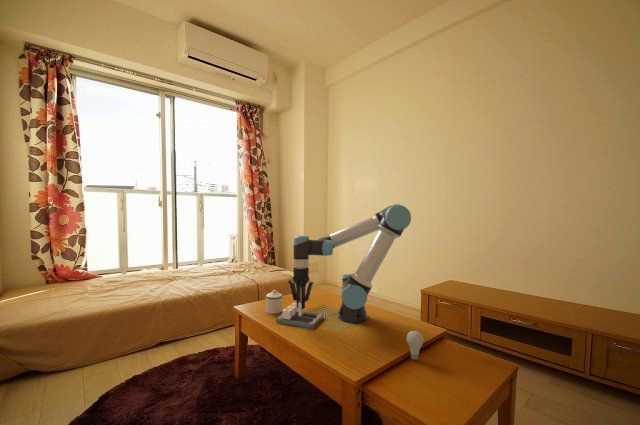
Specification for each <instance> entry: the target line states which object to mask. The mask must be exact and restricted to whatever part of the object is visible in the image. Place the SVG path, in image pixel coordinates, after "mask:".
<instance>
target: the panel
mask: <svg viewBox="0 0 640 425" xmlns="http://www.w3.org/2000/svg"><path fill="white" fill-rule="evenodd" d="M323 319H324V314H323V313H315V312H311V311H304V310H303V315H302V316H298V312H296V315H295V316H293V315H292V318H291V319H290V320H289V319H283V318H282V314H280V315H279V316H277V317H276V318H275V323H277V324H283V325H287V326H288V325H289V326H292V327H293V326H294V327H299V328H305V329H309V330H311V329H312V330H314V329H315V328H316V327H317V325H318V324H320V322H321V321H322V320H323Z"/></svg>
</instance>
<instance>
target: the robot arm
mask: <svg viewBox="0 0 640 425" xmlns="http://www.w3.org/2000/svg"><path fill="white" fill-rule="evenodd" d="M411 214H412V213H411V212H410V210H409V209H408V208H407V207H406V206H404V205H402V204H400V203H399V204H398V203H397V204H391V205H389V206H387V207H385V208H383V209H382V210H380V211H378V212H376V213H374V214H373V216H372V217H369V218H366V219H365V220H363V221H359V222H357V223H354V224H352V225H350V226H348V227H345V228H343V229H339V230H337V231H335V232H333V233H331V234H328V235H326V236H323V237H320V238H319V239H310V238H309V236H308V235H296V236H294V237H293V245H292V246H293V263H292V264H293V268H292V269H293V270H292V271H293V275H292V276H293V277H292V279H290V280H288V284H289V286H290V291H291V295H292V296H291V297H292V300H293V301H296V303H297V308H298V316H302V315H303V311H304V309H305V308H306V302H308V301H309V299H310V295H311V291H312V287H313V286H314V284H315V283H314V281H311V279H310V277H309V276H310V275H309V270H310V269H309V265H310V264H309V258H310V257H309V256H324V257H327V256H333V254H334V249H335V248H337V247H341V246H342V245H345V244H348V243H350V242H353V241H355V240H358V239H360V238H363V237H365V236H368V235H370V234H373V233H375V232H377V233H376V234H375V237H374V238H373V239H372V242H371V243H370V246H369V247H368V249H367V251H366V253H365V255H364V257H363V258H362V260H361V262H360V264H359V265H358V266H357V267H358V268H357V269H356V271H355V272H354V273H344V274H343V275H342V278H341V280H342V281H341V282H342V283H341V285H342V286H341V297H340V298H341V304H340V307H339V309H338V315H337V317H338V319H339V320H341V321H342V322H346V323H352V324H355V323H356V324H357V323H363V322H365V321H367V320H368V313H367V310H366V306H365V304H366V303H367V300H368V295H369V293H370V292H371V290H372V288H373V285H372V281H373V279H374V277H375V275H377V273H378V271H379V268H380V267H381V265H382V263H383V261H384V260H385V258H386V256H387V254H388V253H389V251H390V249H391V248H392V245H393V244H394V241H395V240H396V239H398V238H400V237H401V236H402V235H403V232H404V231H405V230H406V229H407V228H408V226H409V225H410V224H411V222H412V215H411ZM306 287H307V290H306Z"/></svg>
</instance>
